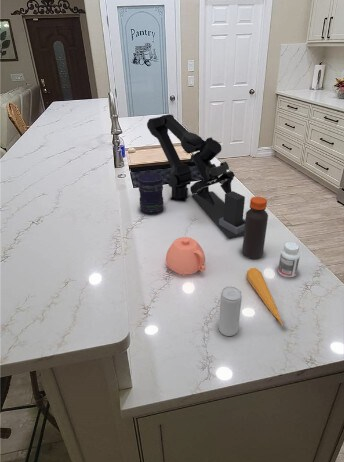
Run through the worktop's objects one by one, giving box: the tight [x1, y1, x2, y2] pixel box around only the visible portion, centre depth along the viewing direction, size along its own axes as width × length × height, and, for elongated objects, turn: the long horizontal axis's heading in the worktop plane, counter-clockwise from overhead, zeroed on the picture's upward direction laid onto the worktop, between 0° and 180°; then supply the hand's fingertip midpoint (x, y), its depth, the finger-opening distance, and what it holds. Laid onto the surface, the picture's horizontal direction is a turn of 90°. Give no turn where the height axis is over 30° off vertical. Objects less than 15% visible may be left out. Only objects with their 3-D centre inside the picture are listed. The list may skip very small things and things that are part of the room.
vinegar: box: [241, 196, 269, 260], centre depth 105 cm, size 7×7×20 cm
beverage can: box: [218, 285, 243, 337], centre depth 79 cm, size 5×5×12 cm
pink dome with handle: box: [165, 236, 206, 276], centre depth 101 cm, size 12×14×10 cm
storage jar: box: [137, 171, 165, 216], centre depth 134 cm, size 10×10×15 cm
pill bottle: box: [277, 241, 301, 278], centre depth 98 cm, size 5×5×10 cm
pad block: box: [223, 190, 246, 227], centre depth 120 cm, size 4×6×13 cm, turn 36°
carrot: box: [245, 267, 284, 327], centre depth 90 cm, size 20×4×4 cm, turn 12°
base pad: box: [191, 190, 245, 240], centre depth 133 cm, size 37×10×4 cm, turn 18°
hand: (222, 201), depth 124 cm, fingers open, 9 cm apart
